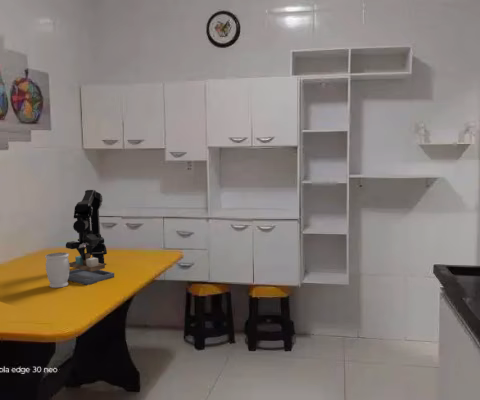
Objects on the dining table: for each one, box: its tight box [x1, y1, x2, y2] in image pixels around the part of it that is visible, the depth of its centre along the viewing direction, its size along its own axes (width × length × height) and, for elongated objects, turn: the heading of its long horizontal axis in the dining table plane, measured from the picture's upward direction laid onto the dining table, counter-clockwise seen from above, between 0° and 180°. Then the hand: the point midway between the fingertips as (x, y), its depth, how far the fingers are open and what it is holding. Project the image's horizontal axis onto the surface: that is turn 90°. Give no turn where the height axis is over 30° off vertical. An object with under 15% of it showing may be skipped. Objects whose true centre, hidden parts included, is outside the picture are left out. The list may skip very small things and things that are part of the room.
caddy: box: [69, 252, 106, 272], centre depth 247 cm, size 18×8×7 cm, turn 52°
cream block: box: [86, 256, 98, 267], centre depth 244 cm, size 4×4×4 cm
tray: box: [67, 268, 115, 286], centre depth 248 cm, size 23×16×2 cm
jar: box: [44, 252, 71, 289], centre depth 234 cm, size 11×10×15 cm
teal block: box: [74, 255, 83, 265], centre depth 250 cm, size 4×4×4 cm
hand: (86, 259), depth 247 cm, fingers closed on caddy, 2 cm apart
